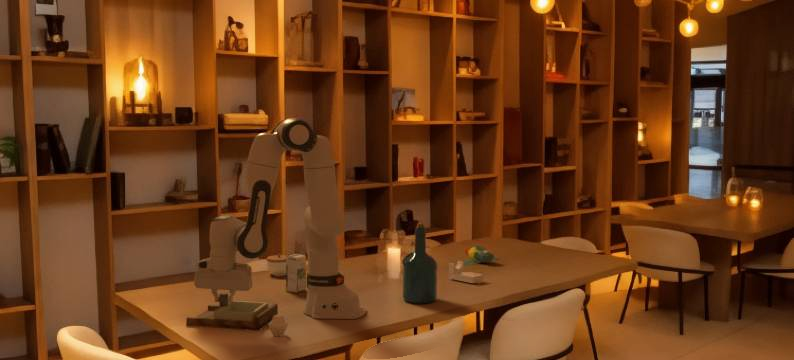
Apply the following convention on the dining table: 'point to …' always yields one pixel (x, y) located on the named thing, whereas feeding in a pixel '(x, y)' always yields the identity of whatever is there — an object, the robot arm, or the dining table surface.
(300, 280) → the syrup box
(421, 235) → the wine bottle
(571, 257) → the dining table surface
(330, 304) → the robot arm
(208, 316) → the bay
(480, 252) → the green parrot figure
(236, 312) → the drawer
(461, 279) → the bracket
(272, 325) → the muffin
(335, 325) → the dining table surface
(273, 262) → the lidded jar
